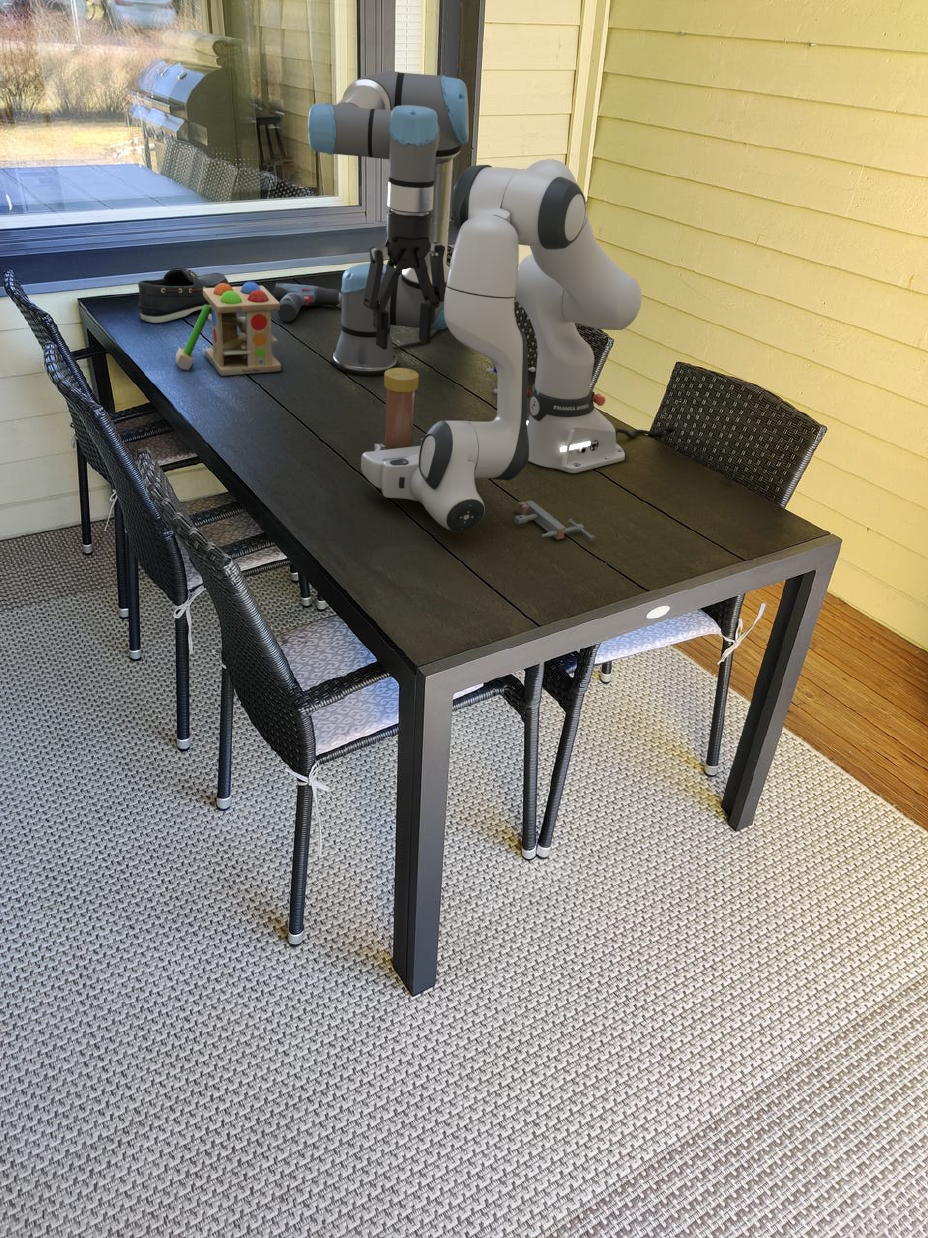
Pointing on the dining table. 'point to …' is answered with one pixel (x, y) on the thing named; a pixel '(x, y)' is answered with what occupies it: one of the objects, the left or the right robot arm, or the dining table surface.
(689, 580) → the dining table surface
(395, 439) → the jar
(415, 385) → the lid
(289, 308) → the power drill
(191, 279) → the boat shoe
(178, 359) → the pounding bench toy
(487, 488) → the dining table surface
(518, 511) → the clamp
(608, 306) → the right robot arm
